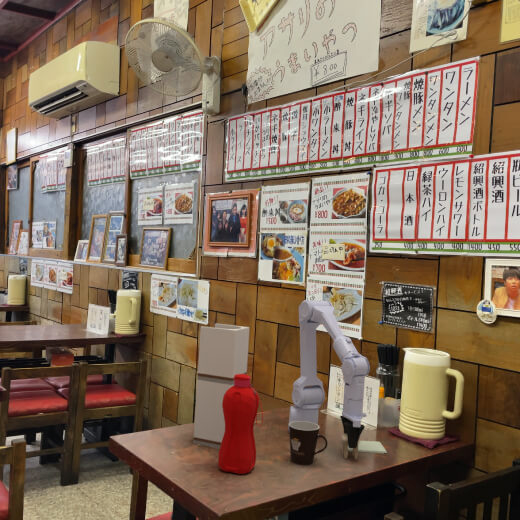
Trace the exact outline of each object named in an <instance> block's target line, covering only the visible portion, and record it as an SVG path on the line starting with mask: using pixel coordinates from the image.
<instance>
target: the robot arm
mask: <svg viewBox="0 0 520 520" xmlns="http://www.w3.org/2000/svg"><path fill="white" fill-rule="evenodd" d="M335 310H336V309H335V307H334V306H333V304H332V301H330V300H328V299H325V300H316V299H315V300H314V299H313V300H310V299H305V300H303V301H302V302H301V303H300V305H299V306H298V325H299V349H300V350H299V352H300V353H299V354H300V356H299V359H300V367H299V368H300V377H298V378H297V379H296V380H295V381H294V382H293V389H292V392H291V400H292V403H293V405H290V407H289V418H288V424H287V425H288V426H287V428H288V429H287V430H289V423H291V422H294V421H307V422H312V423H315V424H317V425H319V424H318V423H319V408H321V406H322V405H323V404H324V402H325V398H326V393H325V390H324V384H323V383H324V382H323V381H322V380H321V379H319V377H318V372H317V371H318V369H317V367H318V366H317V329H318V328H319V326H320V325H323V327H324V328H325V330H326V332H327V333H328V334H329V336H330V337H331V339H332V340H333V344H332V348H333V350H334V351H335V353H336V355H337V357H338V358H339V360H340V362H341V363H342V364H341V365H340V370H341V372H342V376H343V377H342V378H343V379H342V380H343V383H344V384H343V385H344V388H343V389H344V390H343V399H342V401H343V403H342V406H343V407H342V411H341V415H340V416H339V418H340V420H341V423H342V426H343V427H342V429H343V434H346V433H347V437H348V446H349V448H356V447H357V444H358V441H359V437H360V438H361V435H362V433H363V431H364V430H365V424H362V423H361V422H362V419H363V418H367V413H365V412H363V411H364V409H363V408H364V397H365V395H364V393H365V379H366V376H368V375H369V373H370V369H371V368H370V362H369V359H368V358H367V357H366V356H363V355H362V354H360V353H359V352H358V350H357V348H356V346H355V345H354V343H353V342H352V339H351V338H350V337H349V336H345V335H344V333H343V331H342V329H341V327H340V325H339V323H338V321H337V318H336V317H335V314H336V313H335ZM318 435H320V434H319V433H318Z"/></svg>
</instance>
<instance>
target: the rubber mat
mask: <svg viewBox="0 0 520 520" xmlns="http://www.w3.org/2000/svg"><path fill="white" fill-rule="evenodd" d="M348 452H353V448H349V446H348ZM358 453H369V454H384V453H388V451H387V450H386V448H385V447H384V446H383V444H382V443H381V441H374V440H373V441H372V440H360V443H359V444H358Z"/></svg>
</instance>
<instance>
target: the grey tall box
mask: <svg viewBox="0 0 520 520" xmlns="http://www.w3.org/2000/svg"><path fill="white" fill-rule="evenodd" d="M199 332H200V333H199V346H198V347H199V348H198V362H197V363H198V364H197V379H196V392H195V393H196V394H195V408H194V409H195V411H194V424H193V425H194V426H193V441H192V444H193V443H195V444H194V445H196V444H200V445H199V446H201V445H205V446H204V447H206V446H209V447H208V448H211V447H214V448H213V449H216V448H218V449H217V450H220V446H221V443H222V439H223V436H224V432H225V420H224V414H223V408H222V402H223V397H224V394H225V393H226V391H227V390H228V389H229V388H230V387H232V386H234V379H233V377H234V376H235V375H236V374H246V375H248V358H249V341H250V327H249V326H243V325H242V326H240V325H234V324H224V323H214V327H211V326H203V325H202V326H200V330H199Z"/></svg>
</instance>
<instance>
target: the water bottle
mask: <svg viewBox="0 0 520 520" xmlns="http://www.w3.org/2000/svg"><path fill="white" fill-rule="evenodd" d="M233 379H234V386H232V387H230V388H229V389H228V390H227V391H226V393H225V394H224V397H223V402H222V408H223V414H224V420H225V432H224V436H223V439H222V443H221V446H220V449H218V468H219V469H220V470H222V471H223V472H225V473H226V472H227V473H232V474H237V475H238V474H239V475H244V474H248V473H250V472H251V471H252V470H253V469H254V468H255V465H256V461H257V448H256V440H255V434H254V426H255V424H256V425H257V426H258V427H261V425H264V424H263V423H264V414H263V413H264V412H263V406H262V402H261V398H260V397H259V393H258V391H257V390H256V389H255V388H254V387H253V384H252V383H251V376H250V375H249V374H247V375H246V374H236V375H235V376H234V377H233ZM259 406H260V409H261V416H262V418H261V421H262V422H261V425H259V424H258V422H257V419H258V418H257V417H258V410H259Z"/></svg>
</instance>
